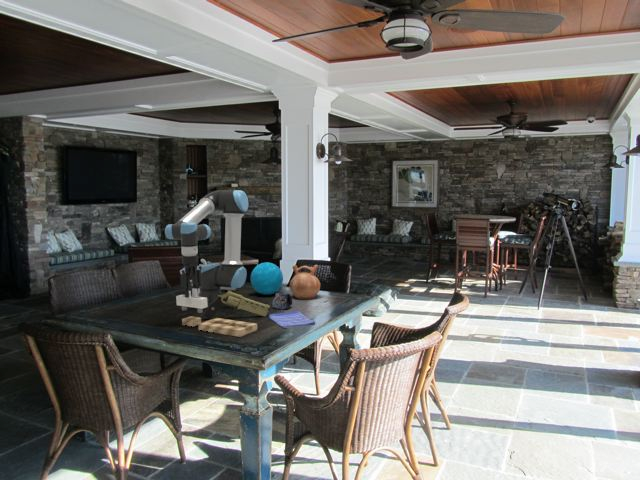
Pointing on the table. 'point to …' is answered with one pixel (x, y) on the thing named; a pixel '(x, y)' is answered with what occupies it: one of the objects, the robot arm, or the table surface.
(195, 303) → the strip
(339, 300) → the table surface
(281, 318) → the dish towel
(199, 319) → the stand
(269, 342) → the table surface
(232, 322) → the board
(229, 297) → the handgun
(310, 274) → the jug
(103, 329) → the table surface
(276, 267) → the decorative sphere
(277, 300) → the rock
